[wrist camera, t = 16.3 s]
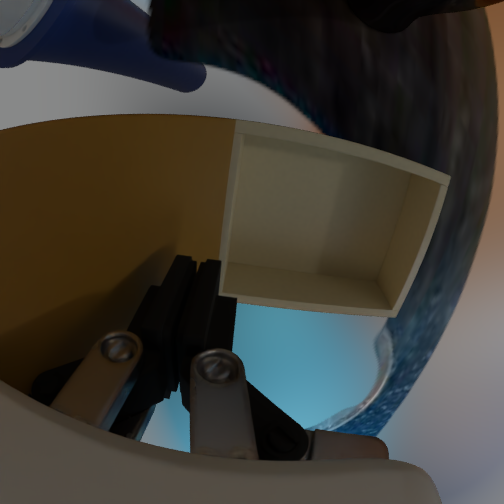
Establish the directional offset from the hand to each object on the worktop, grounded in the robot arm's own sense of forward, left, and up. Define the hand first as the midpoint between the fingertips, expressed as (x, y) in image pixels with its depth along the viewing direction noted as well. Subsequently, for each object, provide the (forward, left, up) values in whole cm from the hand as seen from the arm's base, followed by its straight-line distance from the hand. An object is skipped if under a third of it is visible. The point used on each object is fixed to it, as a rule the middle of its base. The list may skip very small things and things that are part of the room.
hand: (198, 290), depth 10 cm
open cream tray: (+8, 0, -13) cm, 15 cm away
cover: (-2, 0, +1) cm, 2 cm away
